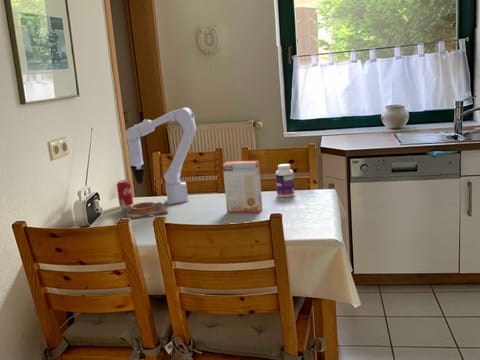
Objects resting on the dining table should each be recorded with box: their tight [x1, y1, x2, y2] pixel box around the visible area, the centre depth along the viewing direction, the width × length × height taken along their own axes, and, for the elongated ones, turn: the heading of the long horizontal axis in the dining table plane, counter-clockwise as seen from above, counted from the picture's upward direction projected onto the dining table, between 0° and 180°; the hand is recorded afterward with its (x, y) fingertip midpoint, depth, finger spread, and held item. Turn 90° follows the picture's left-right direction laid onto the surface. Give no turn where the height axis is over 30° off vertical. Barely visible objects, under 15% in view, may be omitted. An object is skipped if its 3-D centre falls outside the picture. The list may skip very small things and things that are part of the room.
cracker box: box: [222, 160, 263, 214], centre depth 209 cm, size 14×6×21 cm, turn 71°
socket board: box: [120, 199, 169, 220], centre depth 222 cm, size 18×18×5 cm
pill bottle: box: [275, 163, 295, 198], centre depth 228 cm, size 8×8×14 cm
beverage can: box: [116, 179, 134, 207], centre depth 235 cm, size 6×6×12 cm
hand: (139, 182), depth 236 cm, fingers open, 7 cm apart
